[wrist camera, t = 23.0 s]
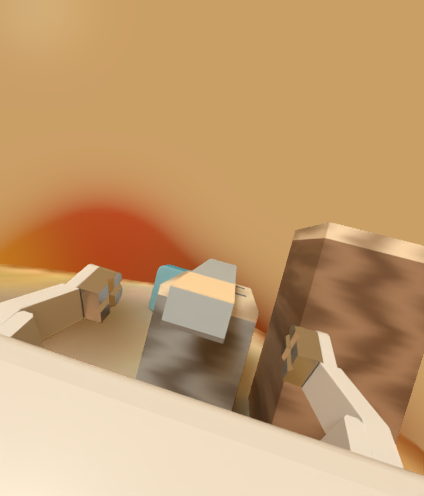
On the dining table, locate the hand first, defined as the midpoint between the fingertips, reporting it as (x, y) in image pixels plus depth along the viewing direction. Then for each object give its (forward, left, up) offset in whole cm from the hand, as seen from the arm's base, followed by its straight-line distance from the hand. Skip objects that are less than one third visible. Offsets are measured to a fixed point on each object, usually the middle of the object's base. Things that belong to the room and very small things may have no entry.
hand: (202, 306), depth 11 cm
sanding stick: (0, +14, -3) cm, 15 cm away
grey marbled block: (0, +19, -19) cm, 27 cm away
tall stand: (+14, +19, -19) cm, 30 cm away
